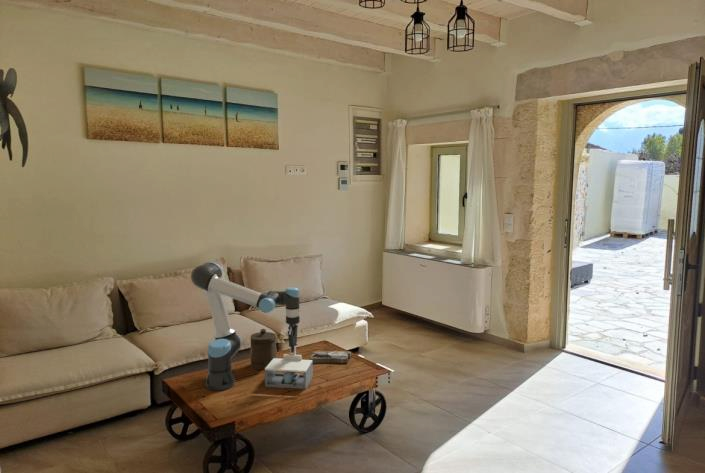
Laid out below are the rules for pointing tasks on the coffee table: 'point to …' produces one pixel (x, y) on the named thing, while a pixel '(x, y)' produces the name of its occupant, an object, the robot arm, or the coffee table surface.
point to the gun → (330, 356)
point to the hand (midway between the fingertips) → (293, 357)
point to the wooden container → (262, 349)
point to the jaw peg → (288, 378)
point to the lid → (289, 364)
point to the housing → (299, 382)
